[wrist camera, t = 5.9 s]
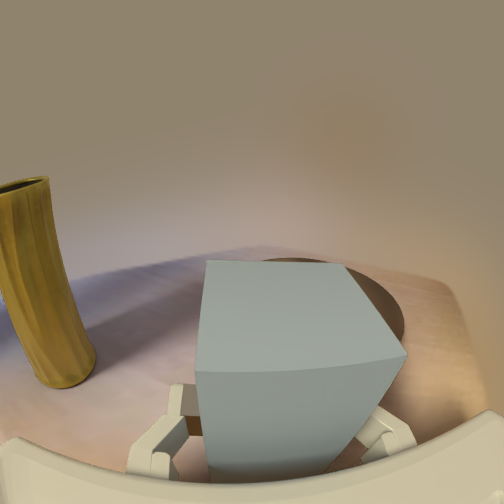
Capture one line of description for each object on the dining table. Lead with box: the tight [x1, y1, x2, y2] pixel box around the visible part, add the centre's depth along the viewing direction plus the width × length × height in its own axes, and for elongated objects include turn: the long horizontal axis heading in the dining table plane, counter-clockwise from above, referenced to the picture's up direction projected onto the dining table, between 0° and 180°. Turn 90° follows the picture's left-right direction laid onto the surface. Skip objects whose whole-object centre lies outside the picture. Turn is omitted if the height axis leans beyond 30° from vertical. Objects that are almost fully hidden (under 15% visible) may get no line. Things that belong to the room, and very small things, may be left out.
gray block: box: [195, 260, 408, 484], centre depth 10 cm, size 5×5×12 cm
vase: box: [0, 176, 96, 388], centre depth 14 cm, size 6×6×14 cm
